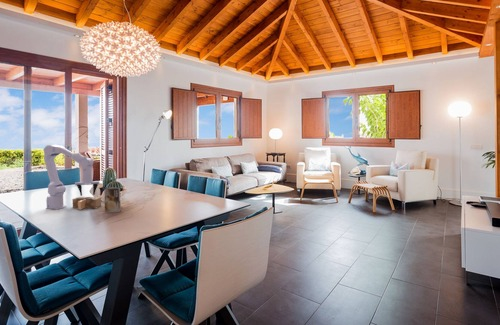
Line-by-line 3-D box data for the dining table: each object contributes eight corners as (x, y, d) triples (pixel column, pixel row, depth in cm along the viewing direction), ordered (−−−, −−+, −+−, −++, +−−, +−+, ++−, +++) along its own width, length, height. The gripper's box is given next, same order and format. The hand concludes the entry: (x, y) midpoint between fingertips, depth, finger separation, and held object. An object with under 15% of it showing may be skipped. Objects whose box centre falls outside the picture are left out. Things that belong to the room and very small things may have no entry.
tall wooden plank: (78, 209, 196) (78, 201, 196) (87, 205, 208) (87, 197, 208) (80, 209, 196) (80, 201, 196) (90, 205, 208) (90, 197, 208)
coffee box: (121, 210, 199) (120, 187, 197) (119, 212, 192) (119, 188, 191) (106, 210, 196) (106, 187, 195) (104, 212, 190) (104, 189, 189)
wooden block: (72, 207, 202) (72, 198, 201) (79, 205, 210) (79, 195, 209) (95, 208, 202) (95, 198, 201) (101, 205, 210) (101, 196, 210)
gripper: (75, 176, 190) (75, 197, 191) (99, 175, 198) (100, 195, 200) (74, 175, 196) (75, 195, 197) (98, 174, 204) (98, 193, 205)
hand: (87, 195), depth 199 cm, fingers open, 7 cm apart
